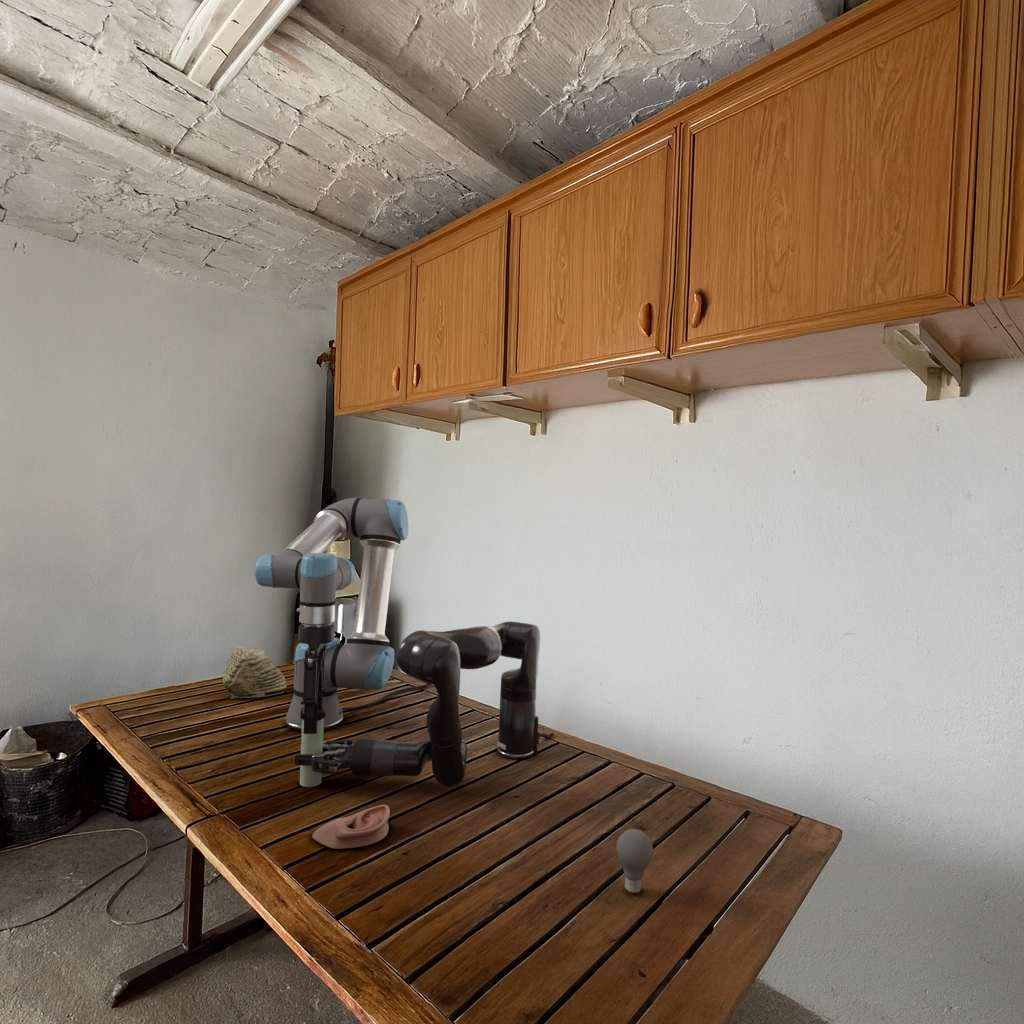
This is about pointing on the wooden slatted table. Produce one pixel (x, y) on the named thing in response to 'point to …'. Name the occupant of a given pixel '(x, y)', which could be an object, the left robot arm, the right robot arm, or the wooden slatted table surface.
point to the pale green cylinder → (314, 747)
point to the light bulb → (634, 857)
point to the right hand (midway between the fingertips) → (299, 754)
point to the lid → (320, 712)
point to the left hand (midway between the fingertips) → (312, 728)
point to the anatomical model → (355, 829)
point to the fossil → (252, 674)
